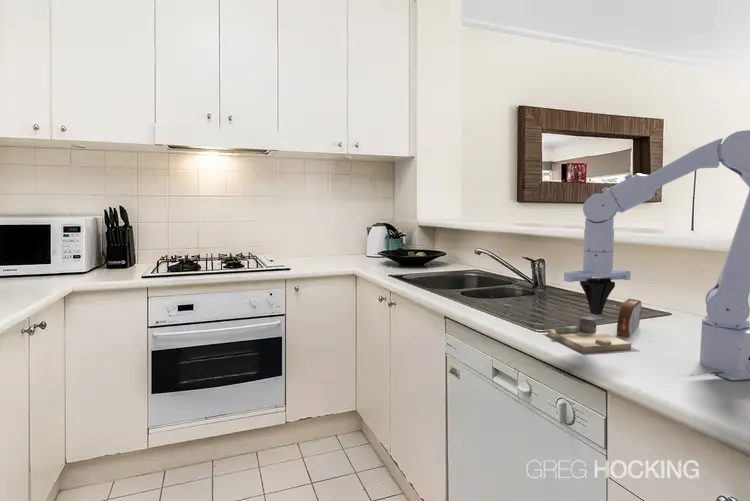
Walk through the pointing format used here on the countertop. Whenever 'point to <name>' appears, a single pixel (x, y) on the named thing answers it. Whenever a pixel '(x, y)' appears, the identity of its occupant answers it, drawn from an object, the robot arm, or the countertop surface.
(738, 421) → the countertop surface
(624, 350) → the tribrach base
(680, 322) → the countertop surface
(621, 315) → the brown and grey slab
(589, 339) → the plate
